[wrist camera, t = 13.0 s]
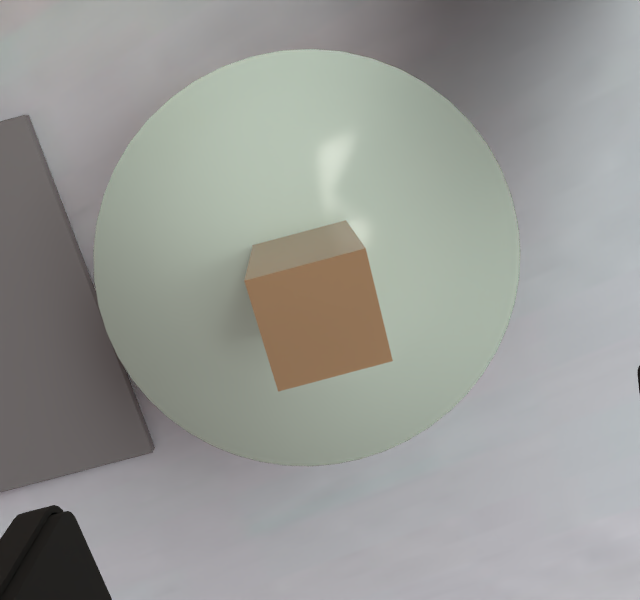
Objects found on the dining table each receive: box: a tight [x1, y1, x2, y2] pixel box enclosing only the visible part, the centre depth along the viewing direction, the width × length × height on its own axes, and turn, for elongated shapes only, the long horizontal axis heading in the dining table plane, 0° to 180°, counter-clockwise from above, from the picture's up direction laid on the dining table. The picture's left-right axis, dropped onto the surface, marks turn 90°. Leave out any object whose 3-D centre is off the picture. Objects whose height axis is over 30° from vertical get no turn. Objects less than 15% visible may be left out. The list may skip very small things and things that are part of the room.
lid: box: [93, 49, 520, 466], centre depth 23 cm, size 18×18×7 cm
